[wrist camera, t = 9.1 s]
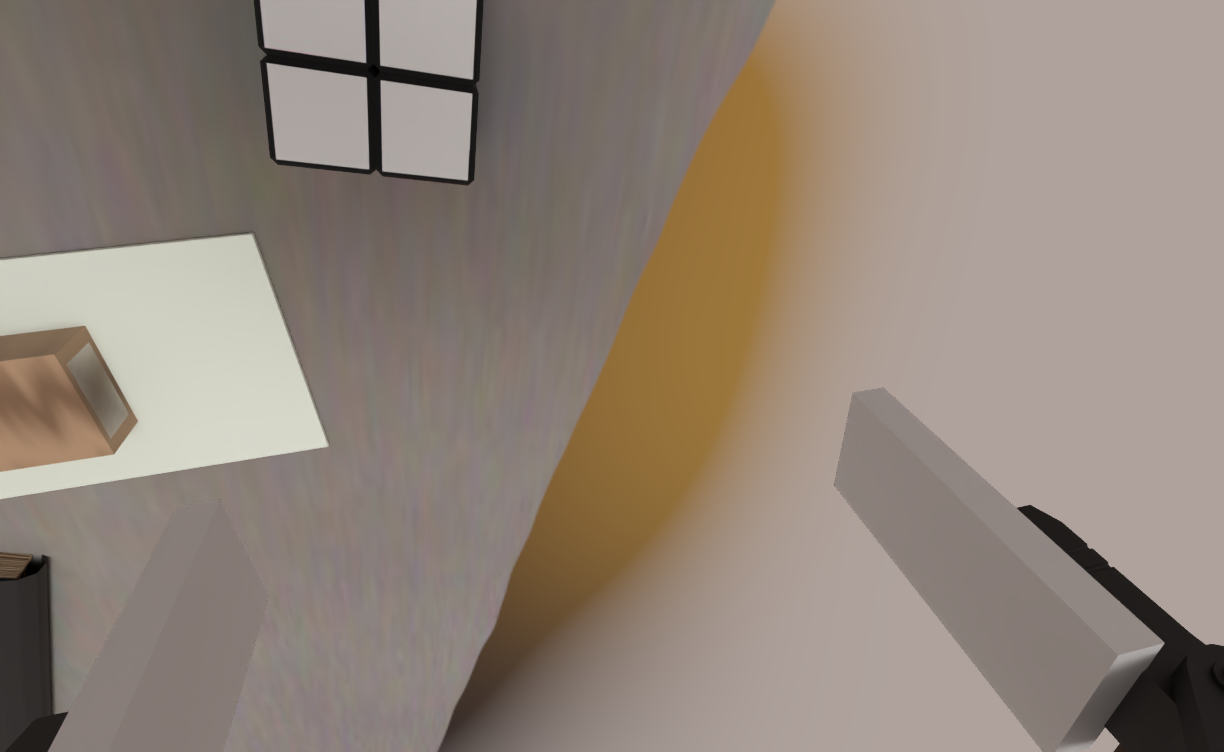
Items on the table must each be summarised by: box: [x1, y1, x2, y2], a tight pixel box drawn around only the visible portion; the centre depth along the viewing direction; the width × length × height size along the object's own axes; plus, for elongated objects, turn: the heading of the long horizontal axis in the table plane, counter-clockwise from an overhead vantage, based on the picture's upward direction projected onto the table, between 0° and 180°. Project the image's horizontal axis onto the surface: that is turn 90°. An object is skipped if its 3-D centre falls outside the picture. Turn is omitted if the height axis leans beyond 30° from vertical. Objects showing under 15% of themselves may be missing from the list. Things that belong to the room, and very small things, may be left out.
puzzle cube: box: [254, 0, 483, 185], centre depth 34 cm, size 10×10×10 cm
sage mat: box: [0, 232, 329, 499], centre depth 44 cm, size 18×30×1 cm, turn 92°
